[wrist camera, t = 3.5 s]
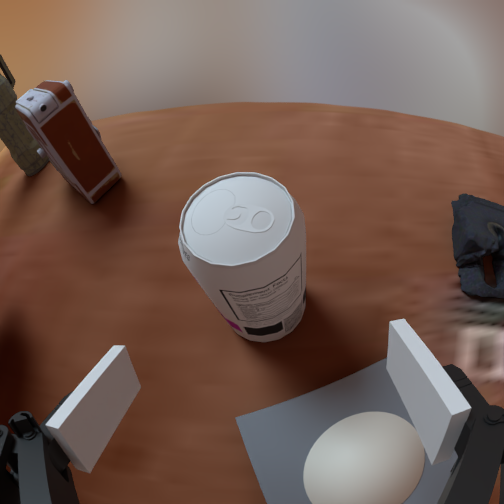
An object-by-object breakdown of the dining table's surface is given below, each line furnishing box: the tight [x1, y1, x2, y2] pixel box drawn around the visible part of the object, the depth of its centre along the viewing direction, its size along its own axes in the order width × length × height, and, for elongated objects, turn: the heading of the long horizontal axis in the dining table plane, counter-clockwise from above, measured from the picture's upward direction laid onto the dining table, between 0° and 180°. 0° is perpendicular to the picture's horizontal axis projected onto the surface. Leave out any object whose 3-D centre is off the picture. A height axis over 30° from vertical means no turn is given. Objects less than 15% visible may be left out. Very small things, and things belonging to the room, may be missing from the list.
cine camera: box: [15, 80, 121, 204], centre depth 39 cm, size 9×19×20 cm, turn 51°
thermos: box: [0, 55, 49, 176], centre depth 41 cm, size 9×12×35 cm
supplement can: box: [178, 172, 306, 342], centre depth 24 cm, size 8×8×15 cm
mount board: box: [236, 358, 458, 504], centre depth 20 cm, size 18×18×2 cm
